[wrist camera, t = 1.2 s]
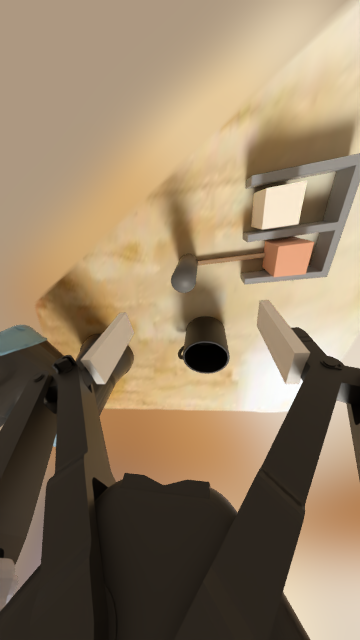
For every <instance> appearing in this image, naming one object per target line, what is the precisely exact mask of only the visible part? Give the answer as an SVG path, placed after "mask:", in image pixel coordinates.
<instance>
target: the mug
mask: <svg viewBox="0 0 360 640" xmlns="http://www.w3.org/2000/svg"><path fill="white" fill-rule="evenodd" d="M183 350H184V351H183ZM182 351H183V355H181V353H182ZM178 357H179V358H180V359H183V360H184V362H185V364H186V365H187V366H188V367H189V368H190V369H192V370H194V371H196V372H199V373H215V372H218V371H220V370H222V369H223V368H225V367H226V365H227V364H228V362H229V351H228V345H227V340H226V335H225V329H224V327H223V325H222V324H221V323H220V322H219V321H218V320H217V319H215V318H212V317H199V318H196V319H194V320H193V321H192V322H190V324H189V325H188V327H187V330H186V337H185V344H184V346H183V347H182V348H181V349H180V350H179V352H178Z"/></svg>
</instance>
